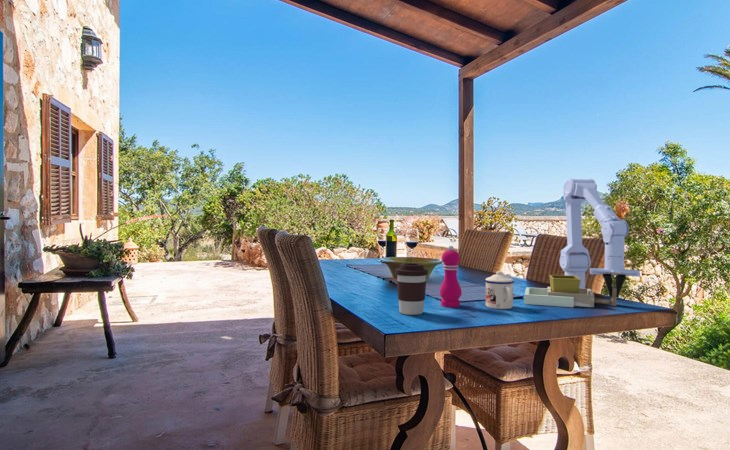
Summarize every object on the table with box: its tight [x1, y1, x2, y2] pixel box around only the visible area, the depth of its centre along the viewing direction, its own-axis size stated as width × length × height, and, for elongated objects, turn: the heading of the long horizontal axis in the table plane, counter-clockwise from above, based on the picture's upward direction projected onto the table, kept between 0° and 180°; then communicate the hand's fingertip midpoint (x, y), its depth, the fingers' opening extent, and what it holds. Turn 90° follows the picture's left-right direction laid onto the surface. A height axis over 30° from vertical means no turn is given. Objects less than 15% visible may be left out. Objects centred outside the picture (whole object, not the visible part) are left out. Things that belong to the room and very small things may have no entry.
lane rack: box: [523, 286, 575, 308], centre depth 159 cm, size 17×15×3 cm
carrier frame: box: [546, 285, 618, 308], centre depth 156 cm, size 14×21×6 cm, turn 69°
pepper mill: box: [439, 245, 462, 308], centre depth 151 cm, size 7×7×20 cm
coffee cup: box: [394, 262, 429, 316], centre depth 139 cm, size 10×10×15 cm
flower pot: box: [548, 274, 580, 294], centre depth 157 cm, size 9×9×9 cm
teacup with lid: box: [484, 270, 515, 310], centre depth 148 cm, size 12×9×12 cm
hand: (613, 296), depth 152 cm, fingers closed
